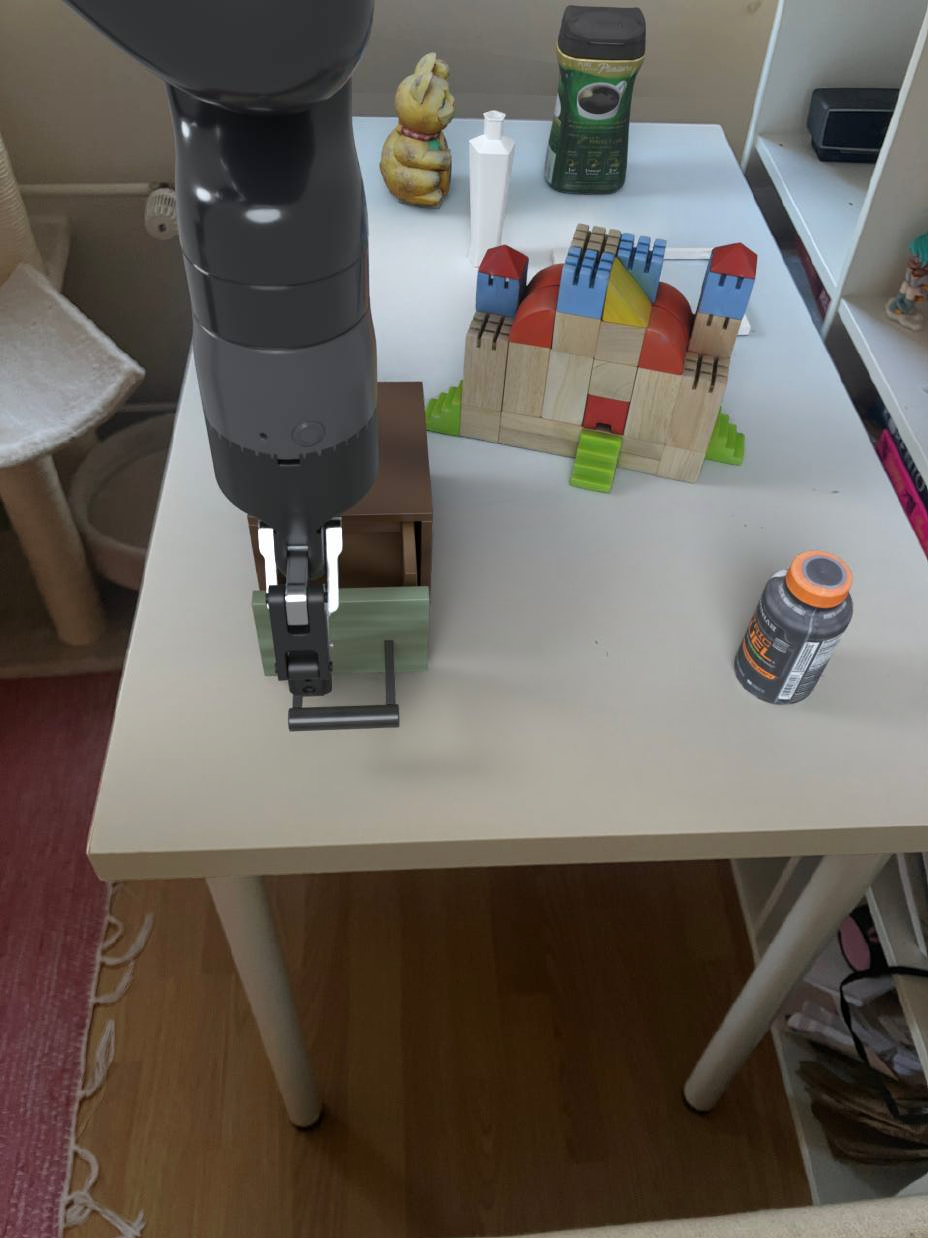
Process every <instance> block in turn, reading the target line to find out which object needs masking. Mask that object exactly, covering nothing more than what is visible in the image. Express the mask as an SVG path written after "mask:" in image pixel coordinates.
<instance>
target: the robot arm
mask: <svg viewBox="0 0 928 1238" xmlns="http://www.w3.org/2000/svg"><path fill="white" fill-rule="evenodd" d="M58 1H59V2H60V3H62V4H63V5H64V6H65V7H66V8H68V9H69V10H70V11H71V12H73V13H74V14H75V15H76V16H77V17H78V18H80V19H81V20H82V21H84V23H86V24H87V25H88V26H89V27H90V28H91V29H93V30H94V31H95V32H97V34H98V35H100V36H101V37H103V38H104V39H105V40H106V41H108V42H109V43H110V44H112V45H113V46H114V47H116V49H118V50H119V51H121V52H122V53H123V54H124V55H126V56H127V57H128V58H130V59H131V60H133V62H135V63H137V64H138V65H139V66H141V67H142V68H144V69H145V70H146V71H148V72H150V74H152V75H154V76H156V77H157V78H158V79H161V80H162V81H164V82H163V83H164V88H165V93H166V98H167V103H168V108H169V113H170V118H171V124H172V128H173V130H172V131H173V138H174V139H173V140H174V155H175V158H174V161H175V162H174V194H175V195H174V196H175V211H176V212H175V213H176V223H177V224H176V226H177V231H178V239H179V244H180V250H181V257H182V261H183V267H184V272H185V278H186V286H187V290H188V296H189V300H190V308H191V316H192V320H191V321H192V350H193V351H192V353H193V359H194V360H193V361H194V367H195V374H196V378H197V384H198V389H199V395H200V401H201V406H202V411H203V416H204V422H205V427H206V434H207V439H208V444H209V445H208V446H209V450H210V456H211V461H212V466H213V473H214V477H215V480H216V483H217V486H218V488H219V490H220V492H221V493H222V494H223V495H224V497H225V498H226V499H227V500H228V501H229V503H231V504H232V505H233V506H234V507H236V508H237V509H238V510H240V511H242V512H243V513H245V514H246V515H247V514H249V515H251V516H253V517H255V518H257V519H259V521H258V535H259V550H260V552H261V554H262V555H263V556H264V558H265V568H266V588H267V593H265V601H266V604H267V606H268V609H269V614H270V622H271V630H272V637H273V645H274V652H275V660H276V663H275V673H277V675H278V676H277V680H278V682H281V681H282V682H283V681H284V682H285V681H287V682H288V683H287V684H288V690H289V693H290V694H291V695H292V696H293V695H296V696H297V697H303V698H306V697H324V696H325V695H329V694H330V693H331V692H332V690H333V674H332V672H333V661H331V659H330V657H331V650H334V643H333V640H331V636H330V614H331V613H333V612H334V611H336V610H337V608H338V606H339V569H338V555H339V554H340V552H341V551H342V546H343V531H342V517H336V516H338V515H340V514H342V513H344V512H346V511H347V510H349V509H351V508H352V507H353V506H355V505H356V504H357V503H359V502H360V501H361V500H362V499H363V498H364V497H365V496H366V494H367V493H368V492H369V490H370V489H371V487H372V486H373V484H374V482H375V479H376V476H377V472H378V386H377V382H378V350H377V349H378V348H377V347H378V346H377V337H376V329H375V325H374V319H373V314H372V306H371V295H370V249H369V247H370V245H369V241H370V239H369V238H370V237H369V236H370V228H369V227H370V225H369V212H368V204H367V196H366V190H365V184H364V178H363V174H362V170H361V165H360V161H359V156H358V152H357V147H356V143H355V142H356V141H355V135H354V126H353V125H354V123H353V82H352V81H353V77H352V75H353V74H354V73H355V71H356V69H358V66H359V64H360V62H361V61H362V59H363V57H364V54H365V52H366V49H367V47H368V43H369V40H370V36H371V33H372V27H373V24H374V23H373V22H374V14H375V4H376V3H375V0H58ZM279 570H280V571H281V573H282V574H283V575H284V576H285V577H286V585H285V584H279ZM323 574H327V579H328V587H327V589H326V590H325V586H324V584H309V580H315V579H318V578H320V577H322V576H323Z"/></svg>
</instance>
